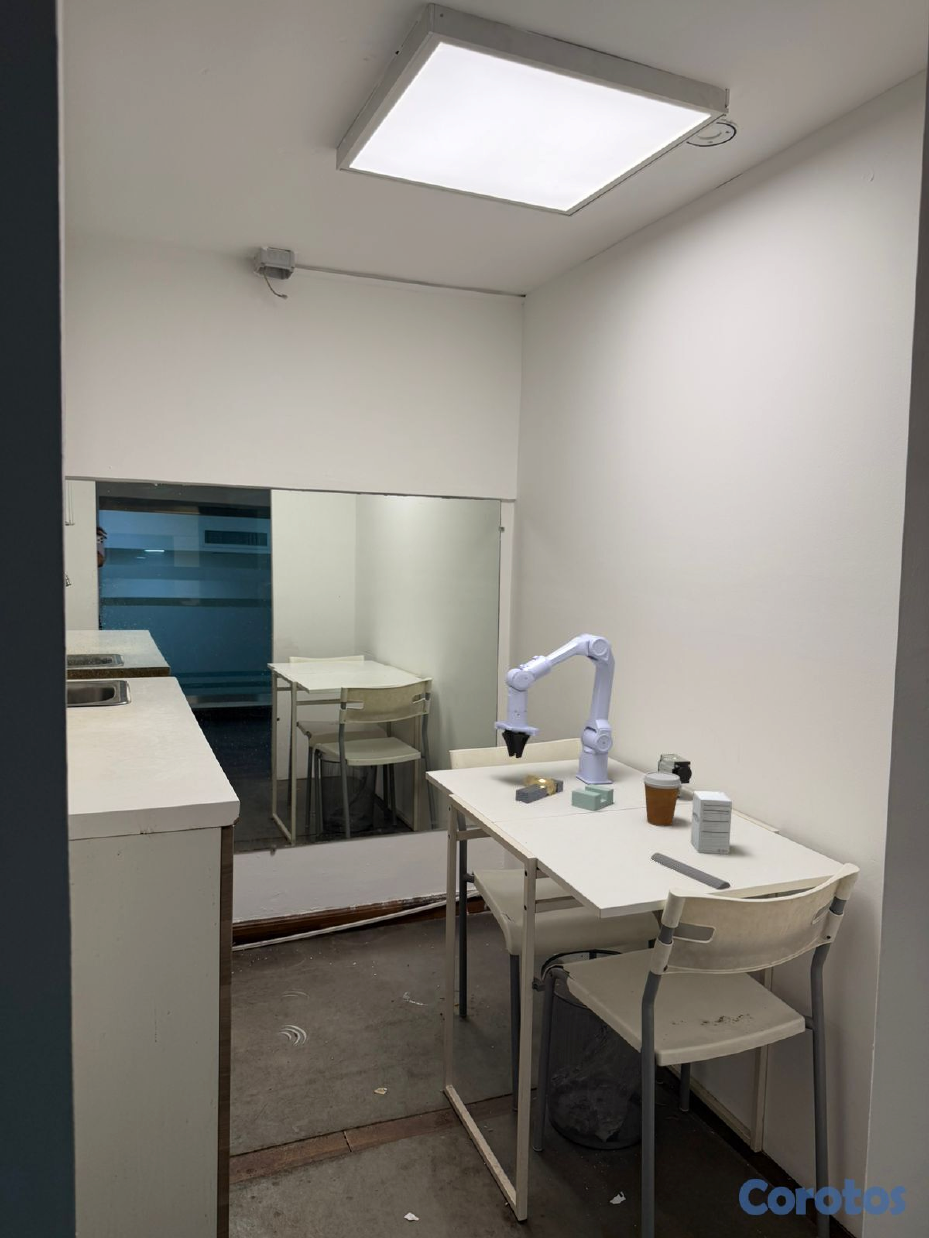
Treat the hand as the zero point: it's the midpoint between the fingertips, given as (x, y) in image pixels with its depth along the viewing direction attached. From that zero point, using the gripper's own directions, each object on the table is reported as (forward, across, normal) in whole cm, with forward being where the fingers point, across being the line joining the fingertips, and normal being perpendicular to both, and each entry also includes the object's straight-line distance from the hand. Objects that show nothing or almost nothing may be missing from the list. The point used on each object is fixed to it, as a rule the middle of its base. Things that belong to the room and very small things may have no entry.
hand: (515, 756), depth 248 cm
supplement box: (+9, +64, -11) cm, 66 cm away
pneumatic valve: (+9, +38, +24) cm, 46 cm away
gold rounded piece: (+6, +9, 0) cm, 11 cm away
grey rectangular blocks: (+8, +11, -3) cm, 14 cm away
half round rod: (+9, +67, -29) cm, 74 cm away
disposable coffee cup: (+9, +47, -1) cm, 47 cm away
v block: (+8, +26, 0) cm, 28 cm away
